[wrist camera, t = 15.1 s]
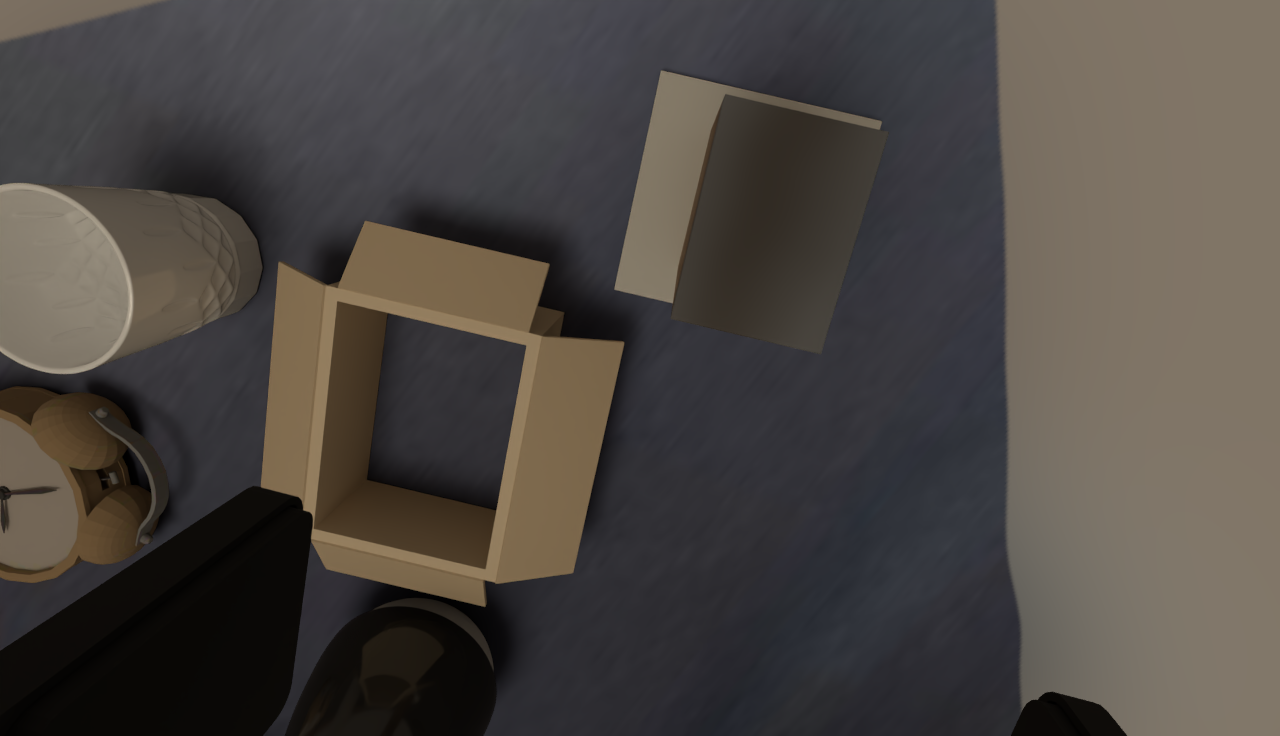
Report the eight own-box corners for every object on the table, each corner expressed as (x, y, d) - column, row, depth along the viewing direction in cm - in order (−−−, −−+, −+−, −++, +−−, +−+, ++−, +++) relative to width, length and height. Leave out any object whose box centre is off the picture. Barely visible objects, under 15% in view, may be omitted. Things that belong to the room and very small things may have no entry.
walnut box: (809, 152, 34) (888, 132, 20) (771, 290, 36) (820, 354, 22) (711, 129, 34) (725, 93, 20) (677, 268, 36) (670, 318, 22)
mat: (879, 122, 34) (882, 121, 33) (815, 335, 37) (817, 336, 36) (661, 71, 34) (661, 70, 33) (615, 288, 37) (614, 289, 36)
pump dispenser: (546, 633, 43) (472, 869, 28) (453, 737, 45) (341, 1002, 31) (411, 537, 42) (261, 730, 27) (324, 649, 44) (143, 880, 29)
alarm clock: (-124, 411, 39) (72, 396, 35) (-24, 384, 43) (159, 369, 39) (-48, 586, 42) (142, 591, 37) (39, 544, 46) (216, 545, 42)
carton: (642, 273, 36) (633, 290, 31) (573, 583, 42) (553, 649, 36) (321, 198, 37) (251, 201, 31) (292, 516, 42) (226, 571, 36)
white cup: (255, 348, 39) (114, 402, 29) (123, 295, 39) (-63, 332, 29) (289, 217, 37) (148, 228, 27) (150, 160, 37) (-42, 151, 27)
